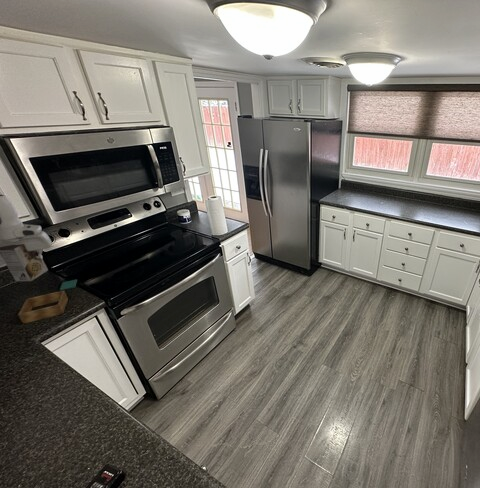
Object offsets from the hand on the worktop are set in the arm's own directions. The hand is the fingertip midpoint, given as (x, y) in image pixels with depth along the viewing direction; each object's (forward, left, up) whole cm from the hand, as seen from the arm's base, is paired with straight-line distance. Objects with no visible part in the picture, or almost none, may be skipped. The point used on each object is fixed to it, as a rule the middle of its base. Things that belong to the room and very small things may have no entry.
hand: (25, 261), depth 114 cm
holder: (-1, -2, -25) cm, 25 cm away
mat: (+4, +19, -25) cm, 32 cm away
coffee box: (0, 0, -8) cm, 8 cm away
